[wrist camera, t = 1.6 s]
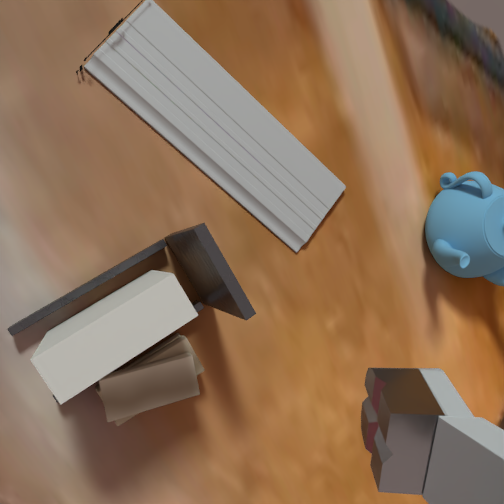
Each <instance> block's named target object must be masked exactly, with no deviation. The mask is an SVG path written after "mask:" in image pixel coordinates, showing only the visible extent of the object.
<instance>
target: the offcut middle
mask: <svg viewBox="0 0 504 504" xmlns="http://www.w3.org/2000/svg"><path fill="white" fill-rule="evenodd" d="M186 352H189V353H190V354H191V355H192V356H193V361H194V366H195V371H196V376H197V375H198V374H200V373H201V372H203V371H204V368H203V366H202V364H201V363H200V361H199V359H198V357H197V355H196V354H195V352H194V350H193V348H192V347H191V345H190V343H189V341H188V339H187V338H186V337H185V336H184V335H182V336H180V337H179V338H177V339H176V340H174V341H172V342H171V343H169V344H167V345H166V346H164V347H162V348H161V349H159V350H158V351H156V352H154V353H153V354H151V355H149V356H148V357H146V358H144V359H143V360H141V361H140V362H138V363H136V364H135V365H133V366H131V367H134V366H137V365H141V364H145V363H149V362H152V361H156V360H160V359H163V358H167V357H171V356H174V355H178V354H182V353H186ZM97 393H98V395H99V396H100V398H101V400H102V401H103V399H102V394H101V389H100V386H99V387H97ZM137 414H138V413H137ZM137 414H134V415H131V416H127V417H124V418H121V419H118V420H114V421H115V423H116V425H117V426H120V425H121V424H123V423H124V422H126V421H127V420H129V419H130V418H132V417H134V416H135V415H137Z"/></svg>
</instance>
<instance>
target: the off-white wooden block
mask: <svg viewBox="0 0 504 504" xmlns="http://www.w3.org/2000/svg"><path fill="white" fill-rule="evenodd" d="M197 316H198V314H197V312H196V310H195V309H194V307H193V305H192V304H191V302H190V300H189V299H188V297H187V295H186V294H185V292H184V290H183V289H182V287H181V285H180V284H179V282H178V280H177V279H176V277H175V275H174V274H173V273H168V272H162V271H156V270H150V271H148V272H147V273H145V274H143V275H142V276H140V277H138V278H137V279H135V280H133V281H132V282H130V283H128V284H126V285H125V286H123V287H121V288H120V289H118V290H116V291H115V292H113V293H111V294H110V295H108V296H106V297H105V298H103V299H101V300H99V301H98V302H96V303H94V304H93V305H91V306H89V307H88V308H86V309H84V310H83V311H81V312H79V313H78V314H76V315H74V316H72V317H71V318H69V319H67V320H66V321H64V322H62V323H61V324H59V325H57V326H56V327H54V328H52V329H51V330H49V331H47V333H46V335H45V336H44V338H43V340H42V341H41V343H40V345H39V346H38V348H37V350H36V351H35V353H34V355H33V356H32V358H31V362H32V363H33V365H34V366H35V368H36V369H37V371H38V372H39V374H40V375H41V376H42V378H43V379H44V381H45V382H46V384H47V385H48V387H49V388H50V390H51V391H52V393H53V394H54V396H55V397H56V399H57V400H58V402H59V403H60V405H61V404H63V403H64V402H66V401H67V400H69V399H70V398H72V397H73V396H75V395H77V394H78V393H80V392H81V391H83V390H84V389H86V388H87V387H89V386H90V385H92V384H93V383H95V382H97V381H98V380H100V379H101V378H103V377H104V376H106V375H107V374H109V373H110V372H112V371H114V370H115V369H117V368H118V367H120V366H121V365H123V364H124V363H126V362H127V361H129V360H130V359H132V358H134V357H135V356H137V355H138V354H140V353H141V352H143V351H144V350H146V349H147V348H149V347H150V346H152V345H154V344H155V343H157V342H158V341H160V340H161V339H163V338H164V337H166V336H167V335H169V334H171V333H172V332H174V331H175V330H177V329H178V328H180V327H181V326H183V325H184V324H186V323H187V322H189V321H191V320H192V319H194V318H195V317H197Z"/></svg>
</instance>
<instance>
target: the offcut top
mask: <svg viewBox="0 0 504 504" xmlns="http://www.w3.org/2000/svg"><path fill="white" fill-rule="evenodd" d="M99 384H100V389H101V394H102V399H103V403H104V408H105V413H106V418H107V423H108V422H111V421H114V420H118V419H121V418H124V417H127V416H131V415H134V414H137V413H141V412H144V411H147V410H150V409H154V408H157V407H160V406H164V405H167V404H170V403H173V402H177V401H180V400H183V399H186V398H190V397H193V396H196V395H200V392H199V386H198V381H197V376H196V371H195V366H194V361H193V356H192V355H191V354H190V353H189V352H186V353H182V354H178V355H174V356H171V357H167V358H163V359H160V360H156V361H152V362H149V363H145V364H141V365H137V366H134V367H130V368H126V369H123V370H119V371H115V372H112V373H109V374H107V375H106V376H104V377H103V378H101V379H100V380H99Z"/></svg>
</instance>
